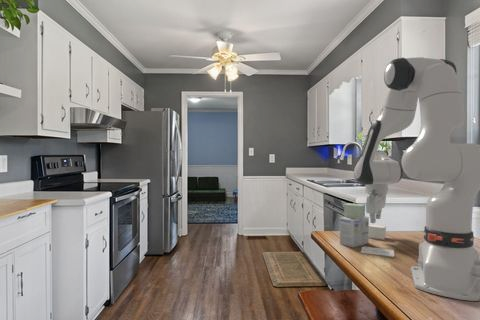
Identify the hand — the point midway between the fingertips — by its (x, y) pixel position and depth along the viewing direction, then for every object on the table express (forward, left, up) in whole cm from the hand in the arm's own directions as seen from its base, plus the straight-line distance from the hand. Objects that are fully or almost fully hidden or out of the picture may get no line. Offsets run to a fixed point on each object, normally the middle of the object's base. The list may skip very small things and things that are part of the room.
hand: (375, 220), depth 136 cm
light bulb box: (-15, +5, -7) cm, 18 cm away
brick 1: (-15, +5, +4) cm, 17 cm away
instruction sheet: (-21, -5, -7) cm, 23 cm away
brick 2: (0, 0, -7) cm, 7 cm away
